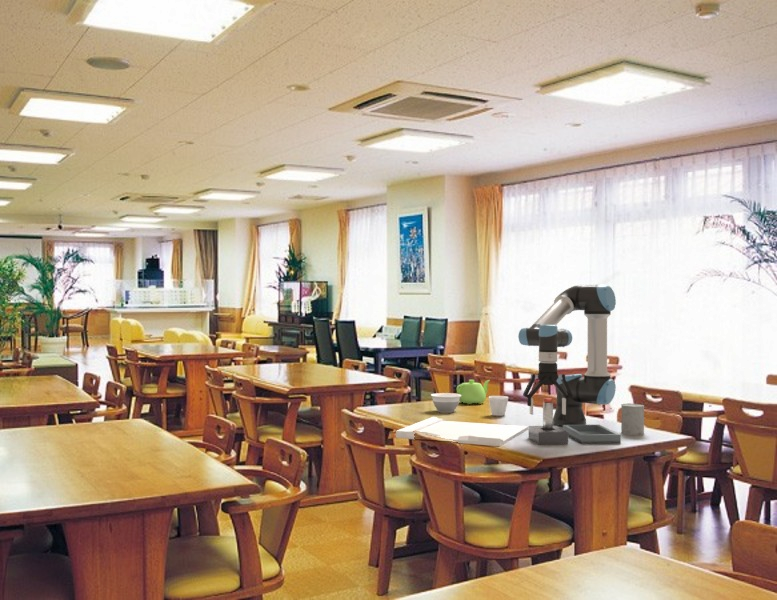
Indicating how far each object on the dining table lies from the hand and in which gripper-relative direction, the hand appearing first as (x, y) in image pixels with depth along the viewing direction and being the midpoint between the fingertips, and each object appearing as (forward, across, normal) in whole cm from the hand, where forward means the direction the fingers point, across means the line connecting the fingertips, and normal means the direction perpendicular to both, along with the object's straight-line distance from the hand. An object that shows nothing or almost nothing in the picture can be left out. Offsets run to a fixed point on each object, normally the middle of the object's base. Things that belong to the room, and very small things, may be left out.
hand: (547, 414), depth 326 cm
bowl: (+11, -29, +88) cm, 93 cm away
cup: (+11, -5, +72) cm, 73 cm away
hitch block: (+11, 0, 0) cm, 11 cm away
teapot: (+10, -9, +119) cm, 120 cm away
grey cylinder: (+11, +42, +16) cm, 46 cm away
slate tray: (+11, +20, +6) cm, 24 cm away
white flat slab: (+12, -31, +21) cm, 39 cm away
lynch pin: (+11, 0, 0) cm, 11 cm away
